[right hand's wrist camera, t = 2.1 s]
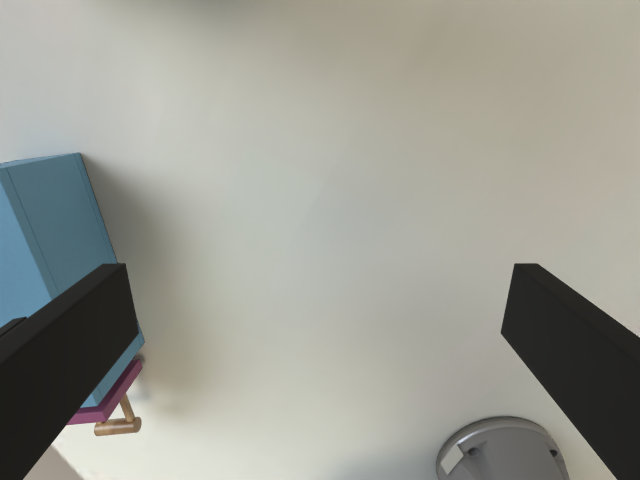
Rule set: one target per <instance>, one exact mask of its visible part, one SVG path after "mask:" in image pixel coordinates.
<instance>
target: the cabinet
mask: <svg viewBox="0 0 640 480" xmlns="http://www.w3.org/2000/svg"><path fill="white" fill-rule="evenodd" d="M101 264H118V263H117V260H116V257H115V255H114V252H113V249H112V246H111V243H110V240H109V237H108V234H107V231H106V228H105V225H104V222H103V220H102V217H101V214H100V211H99V208H98V205H97V202H96V199H95V196H94V193H93V190H92V187H91V185H90V182H89V179H88V176H87V173H86V170H85V167H84V164H83V161H82V158H81V155H80V153H72V154H64V155H56V156H48V157H40V158H32V159H24V160H16V161H11V162H6V163H0V328H1V327H2V326H4V325H5V324H6V323H8V322H9V321H11V320H12V319H16V318H21V317H27V318H28V317H30V316H31V315H32V314H34V313H35V312H36V311H38V310H39V309H41V308H42V307H43V306H45V305H46V304H47V303H49V302H50V301H52V300H53V299H54V298H56V297H57V296H59V295H60V294H61V293H63V292H64V291H65V290H67V289H68V288H70V287H71V286H72V285H74V284H75V283H76V282H78V281H79V280H81V279H82V278H83V277H85V276H86V275H87V274H89V273H90V272H92V271H93V270H94V269H96V268H97V267H99V266H100V265H101ZM137 324H138V322H137ZM138 329H139V334H138V335H137V337H136V338H135V339H134V340H133V342H132V343H131V344H130V345H129V347H128V348H127V349H126V350H125V352H124V353H123V354H122V356H121V357H120V358H119V359H118V361H117V362H116V363H115V364H114V366H113V367H112V368H111V369H110V371H109V372H108V373H107V374H106V376H105V377H104V378H103V379H102V381H101V382H100V383H99V384H98V386H97V387H96V388H95V389H94V391H93V392H92V393H91V394H90V396H89V397H88V398H87V400H86V401H85V402H84V403H83V405H82V406H81V407H80V408H83V407H93V406H98V405H99V403H100V402H101V401H102V399H103V398H104V397H105V395H106V394H107V393H108V391H109V390H110V389H111V387H112V386H113V384H114V383H115V382H116V380H117V379H118V378H119V376H120V375H121V374H122V372H123V371H124V370H125V368H126V367H127V366H128V364H129V363H130V361H131V360H132V359H133V357H134V356H135V355H136V353H137V352H138V351H139V349H140V348H141V346H142V345H143V344H144V339H143V336H142V333H141V330H140V327H139V324H138Z"/></svg>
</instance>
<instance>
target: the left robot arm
mask: <svg viewBox="0 0 640 480" xmlns="http://www.w3.org/2000/svg"><path fill="white" fill-rule="evenodd" d="M25 319H27V317H21V318H16V319H12V320H11V321H9V322H8V323H6V324H5V325H4V326H2V327H1V328H0V338H1V337H2V336H3V335H5V334H6V333H7V332H9V331H10V330H12V329H13V328H14V327H16V326H17V325H18V324H20V323H21V322H23V321H24V320H25Z"/></svg>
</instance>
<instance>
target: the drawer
mask: <svg viewBox="0 0 640 480" xmlns="http://www.w3.org/2000/svg"><path fill="white" fill-rule="evenodd" d="M141 369H142V365H141V362H140V360H131V361H130V363H129V364H128V366H127V367H126V368H125V370H124V371H123V372H122V374H121V375H120V376H119V378H118V379H117V380H116V382H115V383H114V384H113V386H112V387H111V389H110V390H109V391H108V393H107V394H106V395H105V397H104V398H103V399H102V401H101V402H100V403H99V405H98V406H93V407H83V408H79V410H78V411H77V412H76V413H75V415H74V416H73V417H72V418H71V420H70V421H69V422H68V423H67V425H73V424H83V423H94V422H96V425H95V428H94V433H95V435H96V436H104V435H115V434H126V433H136V432H138V431H139V430H140V428H141V418H140V417H135V416H134V413H133V410H132V408H131V405H130V403H129V400H128V398H127V395H126V392H127V390H128V389H129V387H130V386H131V384H132V383H133V381H134V380H135V378H136V377H137V375H138V374H139V372H140V371H141ZM119 402H120V405H121V407H122V410H123V412H124V415H125V417H126V418H121V419H110V420H108V418H109V417H110V415H111V414H112V412H113V411H114V409H115V408H116V406H117V405H118V404H119Z"/></svg>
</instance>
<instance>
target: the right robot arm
mask: <svg viewBox="0 0 640 480" xmlns="http://www.w3.org/2000/svg"><path fill="white" fill-rule="evenodd" d="M138 334H139V329H138V324H137V319H136V314H135V309H134V304H133V299H132V294H131V289H130V284H129V279H128V274H127V269H126V264H101V265H100V266H99V267H97V268H96V269H94V270H93V271H92V272H90V273H89V274H87V275H86V276H85V277H83V278H82V279H81V280H79V281H78V282H76V283H75V284H74V285H72V286H71V287H70V288H68V289H67V290H65V291H64V292H63V293H61V294H60V295H59V296H57V297H56V298H54V299H53V300H52V301H50V302H49V303H47V304H46V305H45V306H43V307H42V308H41V309H39V310H38V311H36V312H35V313H34V314H32V315H31V316H30V317H28V318H27V319H25V320H24V321H23V322H21V323H20V324H18V325H17V326H16V327H14V328H13V329H12V330H10V331H9V332H7V333H6V334H5V335H3V336H2V337H1V338H0V480H23V479H24V477H25V476H26V475H27V474H28V472H29V471H30V470H31V469H32V467H33V466H34V465H35V464H36V462H37V461H38V460H39V459H40V457H41V456H42V455H43V453H44V452H45V451H46V450H47V448H48V447H49V446H50V445H51V443H52V442H53V441H54V440H55V438H56V437H57V436H58V435H59V433H60V432H61V431H62V430H63V428H64V427H65V426H66V425H67V423H68V422H69V421H70V420H71V418H72V417H73V416H74V415H75V413H76V412H77V411H78V410H79V408H80V407H81V406H82V405H83V403H84V402H85V401H86V400H87V398H88V397H89V396H90V394H91V393H92V392H93V391H94V389H95V388H96V387H97V386H98V384H99V383H100V382H101V381H102V379H103V378H104V377H105V376H106V374H107V373H108V372H109V371H110V369H111V368H112V367H113V366H114V364H115V363H116V362H117V361H118V359H119V358H120V357H121V356H122V354H123V353H124V352H125V350H126V349H127V348H128V347H129V345H130V344H131V343H132V342H133V340H134V339H135V338H136V337H137V335H138ZM501 334H502V335H503V337H504V338H505V339H506V340H507V342H508V343H509V344H510V345H511V347H512V348H513V349H514V350H515V352H516V353H517V354H518V356H519V357H520V358H521V359H522V361H523V362H524V363H525V364H526V366H527V367H528V368H529V369H530V371H531V372H532V373H533V374H534V376H535V377H536V378H537V379H538V381H539V382H540V383H541V384H542V386H543V387H544V388H545V389H546V391H547V392H548V393H549V394H550V396H551V397H552V398H553V400H554V401H555V402H556V403H557V405H558V406H559V407H560V408H561V410H562V411H563V412H564V413H565V415H566V416H567V417H568V418H569V420H570V421H571V422H572V423H573V425H574V426H575V427H576V428H577V430H578V431H579V432H580V433H581V435H582V436H583V437H584V438H585V440H586V441H587V442H588V443H589V445H590V446H591V447H592V449H593V450H594V451H595V452H596V454H597V455H598V456H599V457H600V459H601V460H602V461H603V462H604V464H605V465H606V466H607V467H608V469H609V470H610V471H611V472H612V474H613V475H614V476H615V477H616V479H617V480H640V338H639V337H638V336H637V335H635V334H634V333H633V332H631V331H630V330H628V329H627V328H626V327H624V326H623V325H622V324H620V323H619V322H617V321H616V320H615V319H613V318H612V317H610V316H609V315H608V314H606V313H605V312H604V311H602V310H601V309H599V308H598V307H597V306H595V305H594V304H593V303H591V302H590V301H588V300H587V299H586V298H584V297H583V296H581V295H580V294H579V293H577V292H576V291H575V290H573V289H572V288H570V287H569V286H568V285H566V284H565V283H564V282H562V281H561V280H559V279H558V278H557V277H555V276H554V275H553V274H551V273H550V272H548V271H547V270H546V269H544V268H543V267H541V266H540V265H539V264H514V269H513V274H512V279H511V284H510V289H509V294H508V299H507V304H506V309H505V314H504V319H503V324H502V329H501ZM436 471H437V476H438V479H439V480H570V479H569V476H568V472H567V469H566V466H565V463H564V460H563V457H562V455H561V453H560V450H559V448H558V447H557V445H556V444H555V442H554V441H553V439H552V438H551V437H550V435H549V434H548V433H547V432H546V431H545V430H544V429H543V428H542V427H540V426H539V425H537V424H535V423H533V422H531V421H528V420H524V419H520V418H513V417H498V418H491V419H486V420H482V421H479V422H476V423H473V424H471V425H469V426H467V427H465V428H463V429H461V430H460V431H458V432H457V433H456V434H454V435H453V436H452V437H451V438H450V439H449V440H448V441H447V442H446V443H445V444H444V446H443V447H442V449H441V451H440V453H439V455H438V458H437V462H436Z"/></svg>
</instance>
